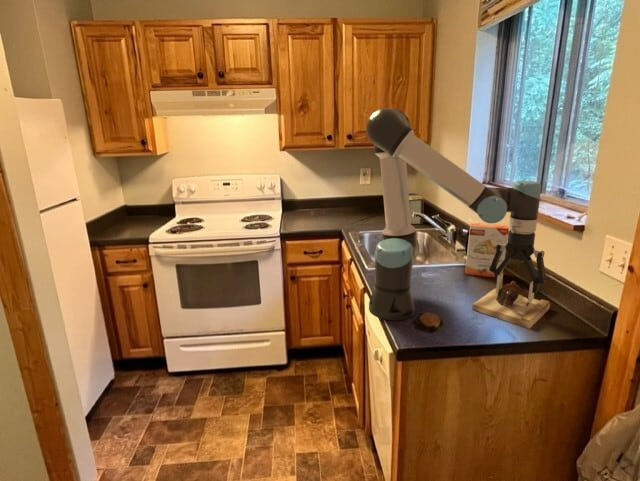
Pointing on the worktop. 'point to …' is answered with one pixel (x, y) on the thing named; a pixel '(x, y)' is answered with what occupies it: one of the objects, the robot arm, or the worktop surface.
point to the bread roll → (427, 323)
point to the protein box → (416, 208)
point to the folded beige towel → (512, 309)
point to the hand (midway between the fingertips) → (514, 296)
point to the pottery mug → (511, 293)
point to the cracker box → (484, 247)
